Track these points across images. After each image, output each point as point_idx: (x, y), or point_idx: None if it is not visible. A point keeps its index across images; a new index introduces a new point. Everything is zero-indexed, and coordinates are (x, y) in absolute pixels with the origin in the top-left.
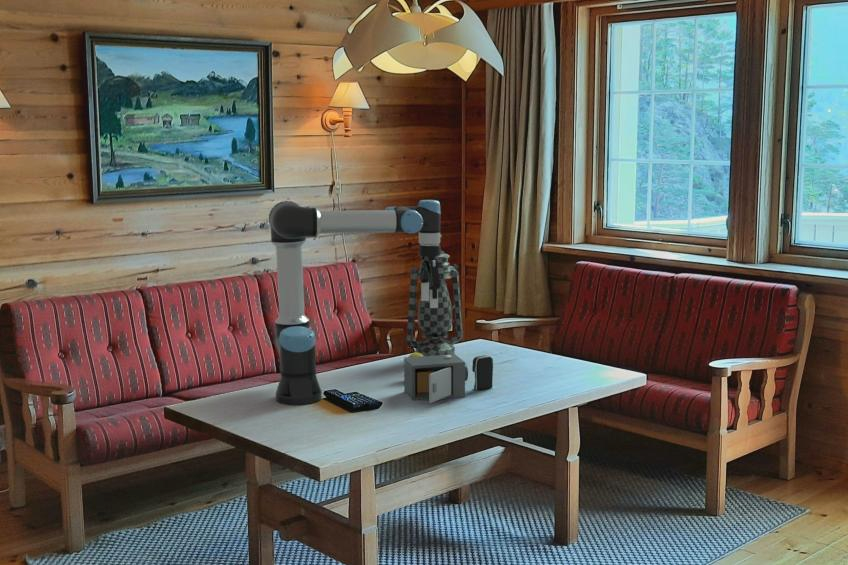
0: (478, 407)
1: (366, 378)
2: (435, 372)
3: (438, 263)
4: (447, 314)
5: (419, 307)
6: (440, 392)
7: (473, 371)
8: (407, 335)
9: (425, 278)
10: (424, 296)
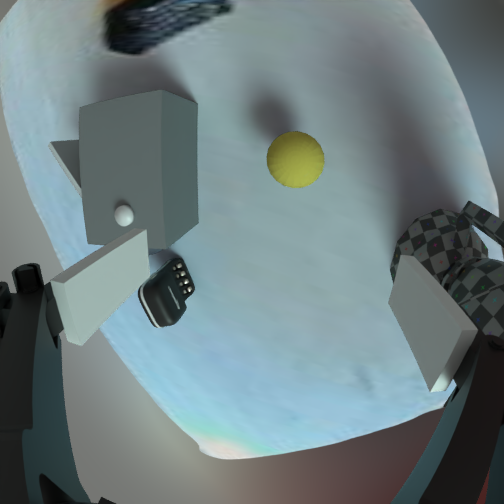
0: (78, 222)
1: (346, 52)
2: (57, 158)
3: None
4: None
5: None
6: None
7: (162, 272)
8: (479, 208)
9: (455, 400)
10: (407, 288)
